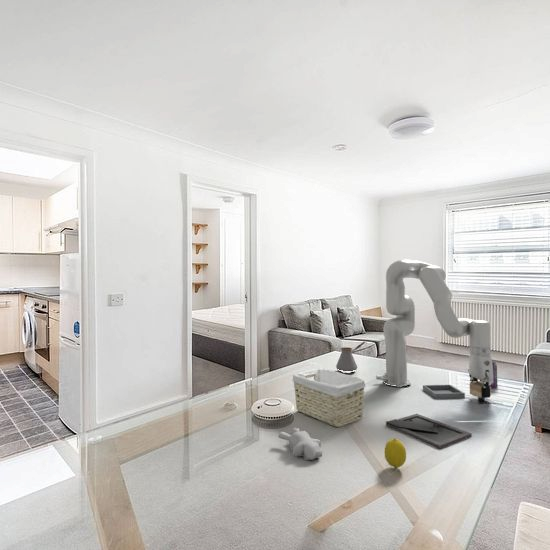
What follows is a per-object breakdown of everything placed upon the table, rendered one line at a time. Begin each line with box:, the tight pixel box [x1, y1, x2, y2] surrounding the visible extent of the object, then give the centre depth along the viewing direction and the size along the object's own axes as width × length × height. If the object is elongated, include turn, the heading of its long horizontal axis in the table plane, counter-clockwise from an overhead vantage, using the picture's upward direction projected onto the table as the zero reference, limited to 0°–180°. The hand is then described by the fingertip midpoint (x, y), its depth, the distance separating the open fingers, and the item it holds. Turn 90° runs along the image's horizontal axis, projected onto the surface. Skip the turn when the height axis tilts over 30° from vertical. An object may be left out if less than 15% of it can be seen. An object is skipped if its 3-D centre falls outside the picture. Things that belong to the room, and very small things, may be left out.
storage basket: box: [292, 367, 366, 428], centre depth 139 cm, size 24×16×15 cm
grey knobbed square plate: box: [467, 396, 498, 405], centre depth 151 cm, size 8×8×6 cm
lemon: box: [384, 437, 407, 469], centre depth 100 cm, size 6×6×8 cm
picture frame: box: [385, 413, 472, 450], centre depth 123 cm, size 16×2×21 cm
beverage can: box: [479, 359, 498, 389], centre depth 171 cm, size 7×7×12 cm
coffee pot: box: [335, 341, 368, 371], centre depth 206 cm, size 21×12×15 cm, turn 125°
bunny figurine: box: [277, 427, 323, 461], centre depth 111 cm, size 10×5×15 cm
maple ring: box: [469, 380, 492, 398], centre depth 151 cm, size 7×7×4 cm
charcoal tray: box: [422, 384, 466, 400], centre depth 161 cm, size 12×12×2 cm
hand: (480, 393), depth 151 cm, fingers closed on maple ring, 7 cm apart
